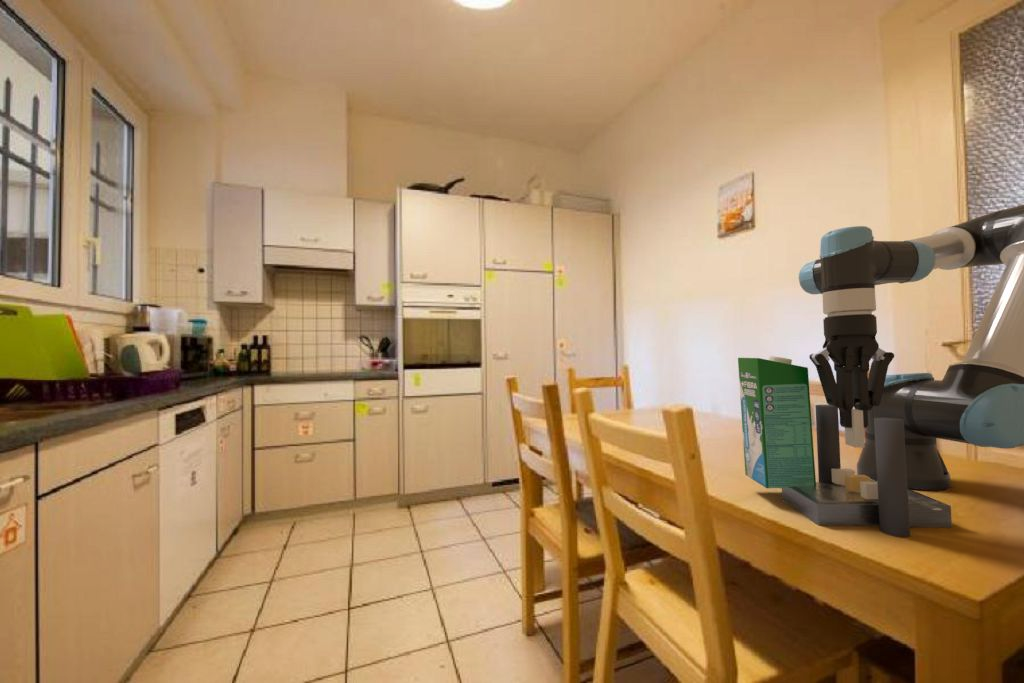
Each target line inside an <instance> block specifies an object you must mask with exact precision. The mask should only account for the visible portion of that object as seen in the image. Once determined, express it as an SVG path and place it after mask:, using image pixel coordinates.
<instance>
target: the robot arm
mask: <svg viewBox="0 0 1024 683" xmlns="http://www.w3.org/2000/svg"><path fill="white" fill-rule="evenodd" d="M874 239H875V237H874V234H873V230H872V229H871V227H868V226H866V225H865V226H864V225H855V226H849V227H842V228H837V229H834V230H831V231H828V232H826V233H825V234H823V235H822V236H821V238H820V246H819V247H820V249H819V252H820V253H819V258H818V259H815V260H813V261H809V262H807V263H805V264H804V265H803V266H802V267H801V268H800V270H799V272H798V281H799V282H798V283H799V285H800V287H801V289H802V290H803V291H804V292H806V294H807V293H808V294H810V295H822V312H823V314H824V315H826V316H825V317H824V318H823V336H824V339H825V340H824V343H823V344H822V349H820V350H819V351H818V352H816V353H811V354H809V359H810V361H811V362H812V363H813V365H814V367H815V369H816V372H817V376H818V378H819V382H820V385H821V389H822V391H823V394H824V398H825V401H826V405H832V406H835V407H837V408H838V415H839V425H840V427H842V428H844V441H845V445H846V446H850V447H853V448H862V449H861V452H860V454H859V457H858V461H857V463H856V475H866V476H868V477H870V479H873V480H875V481H877V467H876V448H875V430H874V418H878V417H885V418H898V419H903V420H904V433H905V451H906V469H907V487H908V489H911V490H927V491H928V490H929V491H936V490H946V489H949V488H950V487H952V483H951V481H952V480H951V475H950V472H949V470H948V468H947V466H946V464H945V462H944V460H943V457H942V455H941V453H940V451H939V449H938V444H937V439H940V440H946V441H952V442H958V443H962V444H968V445H972V446H976V447H981V448H997V449H1007V450H1008V449H1016V448H1018V447H1024V204H1021V205H1017V206H1013V207H1009V208H1005V209H1002V210H1001V209H1000V210H997V211H993V212H991V213H987V214H984V215H980V216H978V217H975V218H973V219H969V220H967V221H964V222H961V223H958V224H955V225H952V226H948V227H945V228H940V229H938V230H936V231H934V232H933V233H932V234H931V235H927V236H922V237H918V238H913V239H908V240H903V241H902V240H890V241H889V240H874ZM995 265H1005V268H1004V270H1003V272H1002V274H1001V277H1000V279H999V281H998V283H997V285H996V288H995V290H994V292H993V294H992V296H991V299H990V300H989V302H988V305H987V307H986V309H985V311H984V314H983V316H982V319H981V321H980V323H979V324H978V327H977V330H976V332H975V334H974V336H973V338H972V339H971V342H970V345H969V347H968V349H967V351H966V353H965V356H964V357H963V360H962V361H959V362H956V363H953V364H950V365H949V366H948V367H947V370H946V372H945V374H944V377H943V378H942V379H940V380H939V379H938V380H937V379H935V377H934V376H933V374H932V373H930V372H916V373H915V372H913V373H900V374H899V373H898V374H897V373H896V374H888V369H889V365H890V364H891V362H892V361H893V360H894V358H895V354H894V353H893V352H891V351H890V352H889V351H885V350H883V349H882V348H880V345H879V343H878V340H877V339H876V337H877V336H876V335H877V333H878V324H877V316H876V315H875V314H873V312H875V311H876V310H877V300H876V299H877V298H876V289H875V288H876V286H880V285H887V284H894V283H897V284H905V283H915V282H918V281H922V280H924V279H925V278H926V277H928V276H929V275H930V274H931V273H932V271H933V270H936V269H938V270H944V271H951V270H957V269H962V268H971V267H972V268H973V267H983V266H985V267H986V266H995ZM871 359H872V362H871V363H870V361H871ZM830 360H831V361H832V362H833V369H834V370H833V369H832V366H831V364H830ZM870 364H871V365H870ZM833 371H835V375H834V372H833Z"/></svg>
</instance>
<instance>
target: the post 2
mask: <svg viewBox="0 0 1024 683" xmlns="http://www.w3.org/2000/svg"><path fill="white" fill-rule="evenodd" d="M874 430H875V448H876V467H877V486H878V505H879V524H880V526H879V531H880V532H881V533H883V534H885V535H888V536H892V537H898V538H909V537H911V527H910V524H909V506H908V489H909V488H908V487H907V469H906V451H905V433H904V420H903V419H898V418H885V417H878V418H874Z"/></svg>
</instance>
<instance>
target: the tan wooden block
mask: <svg viewBox="0 0 1024 683" xmlns="http://www.w3.org/2000/svg"><path fill="white" fill-rule="evenodd" d="M860 482H870V477H868V476H866V475H858V474H855V475H845V485H846V489H847V490H849V491H861V489H860Z"/></svg>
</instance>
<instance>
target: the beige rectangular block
mask: <svg viewBox="0 0 1024 683" xmlns="http://www.w3.org/2000/svg"><path fill="white" fill-rule="evenodd" d="M860 489H861V497H863V498H865V499H878V486H877V482H860Z"/></svg>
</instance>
